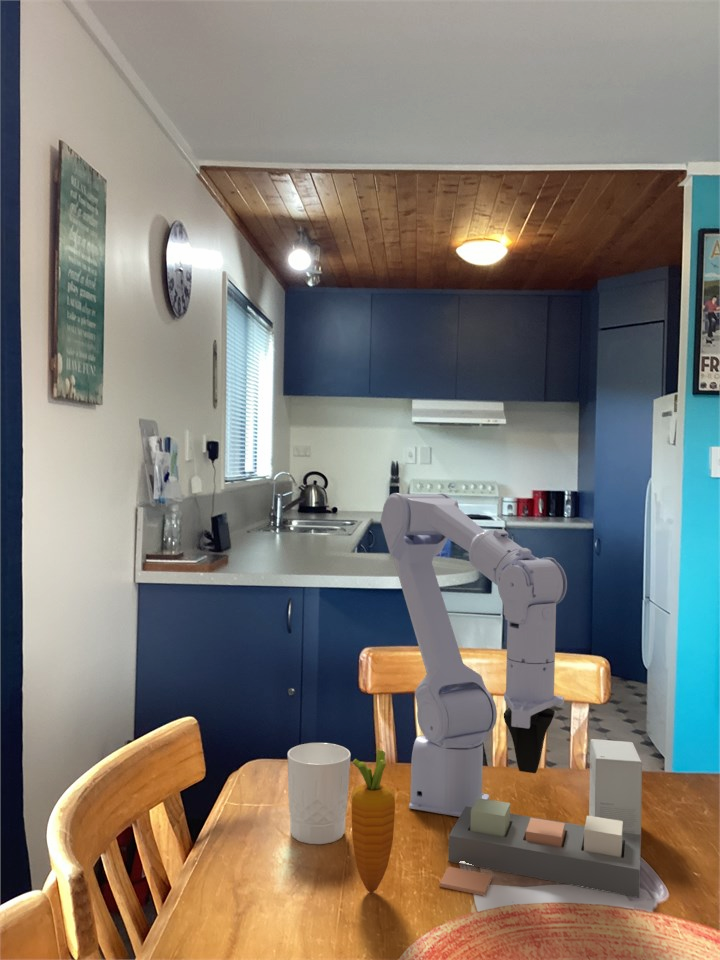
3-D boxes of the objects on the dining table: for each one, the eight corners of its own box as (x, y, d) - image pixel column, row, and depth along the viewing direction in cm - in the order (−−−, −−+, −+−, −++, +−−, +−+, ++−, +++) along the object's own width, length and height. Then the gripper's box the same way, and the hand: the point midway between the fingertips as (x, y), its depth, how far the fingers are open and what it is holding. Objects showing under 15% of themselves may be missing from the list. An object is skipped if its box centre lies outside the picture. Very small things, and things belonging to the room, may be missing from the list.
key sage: (470, 839, 94) (470, 810, 94) (477, 826, 98) (477, 797, 98) (503, 845, 93) (504, 816, 93) (509, 831, 97) (510, 803, 97)
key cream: (583, 860, 90) (584, 829, 90) (586, 845, 94) (587, 815, 94) (620, 866, 88) (621, 835, 88) (622, 851, 92) (622, 821, 92)
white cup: (359, 826, 101) (360, 748, 101) (331, 852, 94) (332, 768, 94) (305, 814, 105) (306, 738, 105) (274, 839, 98) (275, 757, 98)
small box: (641, 848, 97) (643, 762, 97) (593, 843, 98) (595, 758, 98) (632, 820, 105) (634, 741, 105) (588, 816, 106) (590, 737, 106)
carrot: (359, 908, 82) (362, 763, 82) (341, 885, 87) (343, 748, 87) (402, 899, 84) (405, 757, 84) (382, 877, 89) (385, 743, 89)
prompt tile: (439, 886, 87) (439, 882, 87) (448, 869, 91) (448, 866, 91) (484, 895, 85) (485, 892, 85) (492, 878, 89) (492, 874, 89)
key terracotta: (525, 861, 92) (525, 831, 92) (530, 846, 96) (530, 817, 96) (560, 867, 91) (561, 837, 91) (564, 852, 94) (564, 823, 94)
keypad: (448, 861, 93) (448, 835, 93) (465, 829, 101) (465, 806, 101) (639, 897, 85) (639, 869, 85) (640, 860, 94) (640, 835, 94)
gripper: (557, 675, 88) (555, 797, 88) (570, 649, 102) (568, 755, 102) (494, 668, 91) (491, 787, 91) (515, 644, 104) (512, 748, 104)
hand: (528, 770), depth 96 cm, fingers closed
